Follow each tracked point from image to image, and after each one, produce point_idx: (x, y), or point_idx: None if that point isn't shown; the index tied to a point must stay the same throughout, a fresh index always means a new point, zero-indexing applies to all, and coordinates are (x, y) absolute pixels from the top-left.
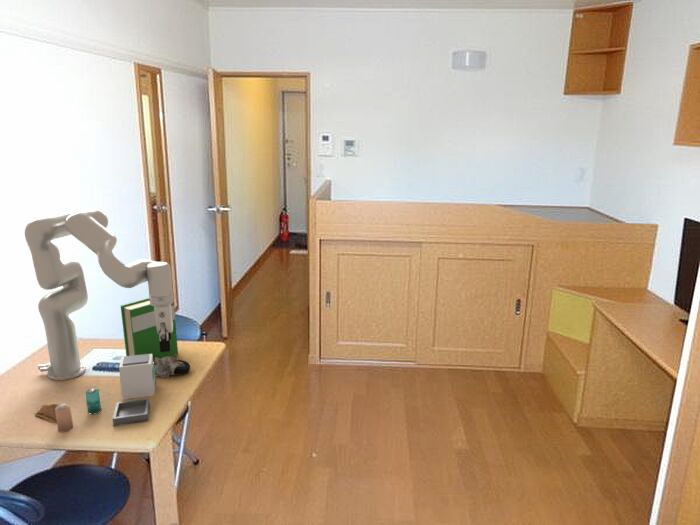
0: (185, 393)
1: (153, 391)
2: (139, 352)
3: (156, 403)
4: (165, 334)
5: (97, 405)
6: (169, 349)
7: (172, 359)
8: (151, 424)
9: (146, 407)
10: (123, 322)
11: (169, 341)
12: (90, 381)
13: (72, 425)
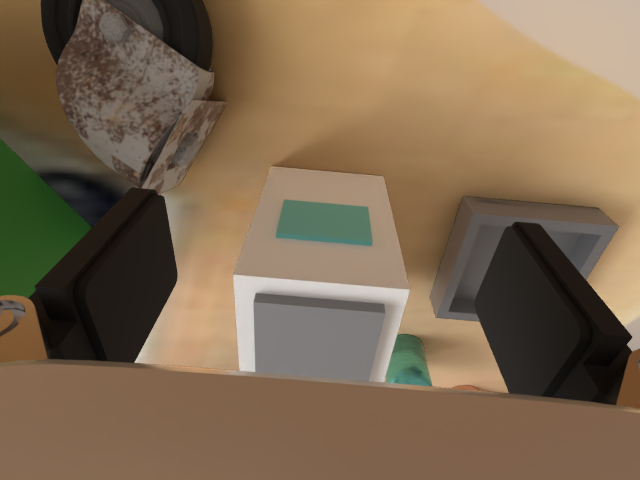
0: (440, 8)
1: (385, 186)
2: (28, 269)
3: (465, 169)
4: (140, 294)
5: (426, 362)
6: (540, 237)
7: (99, 82)
8: (636, 195)
9: (556, 226)
10: None
11: (586, 308)
12: (188, 359)
13: (469, 389)
